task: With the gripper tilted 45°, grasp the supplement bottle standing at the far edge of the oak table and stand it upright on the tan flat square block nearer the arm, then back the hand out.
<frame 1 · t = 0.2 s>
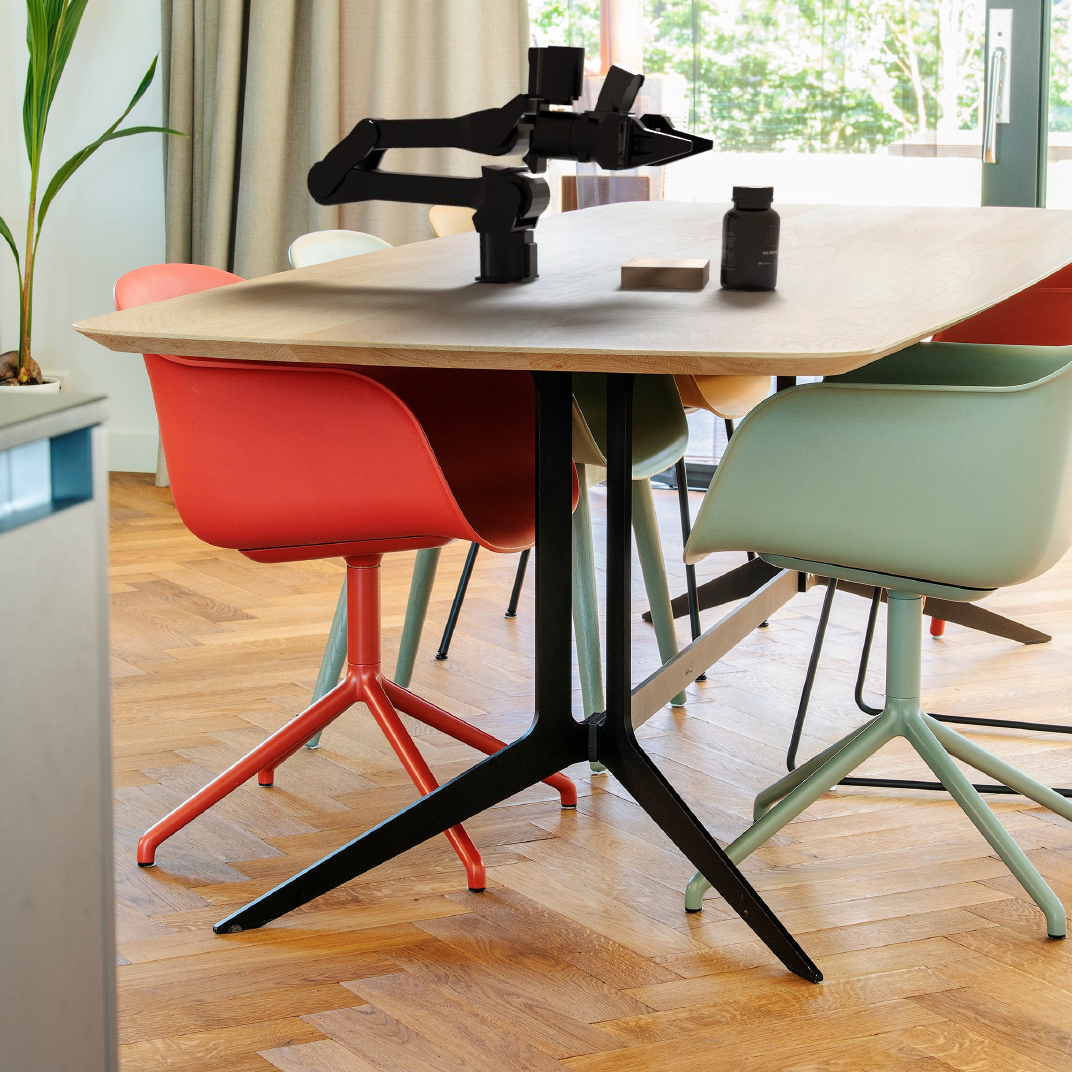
hand: (702, 145, 153), 17 cm above the table, tool horizontal, fingers open, 9 cm apart
supplement bottle: (748, 290, 157), on the table
tan flat square block: (665, 283, 163), on the table
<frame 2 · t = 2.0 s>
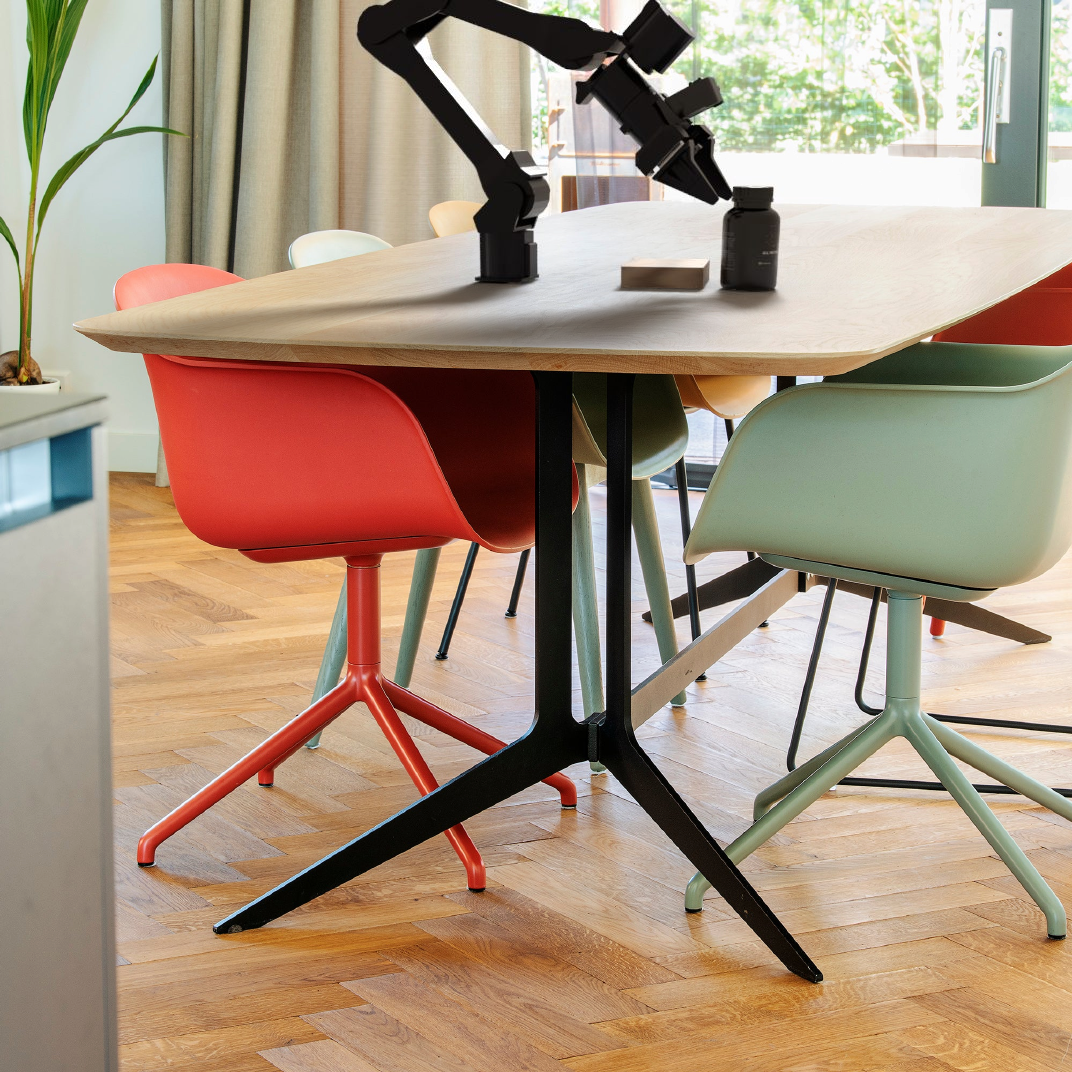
hand: (723, 200, 155), 10 cm above the table, tool tilted 45°, fingers open, 9 cm apart
nothing on the table moved.
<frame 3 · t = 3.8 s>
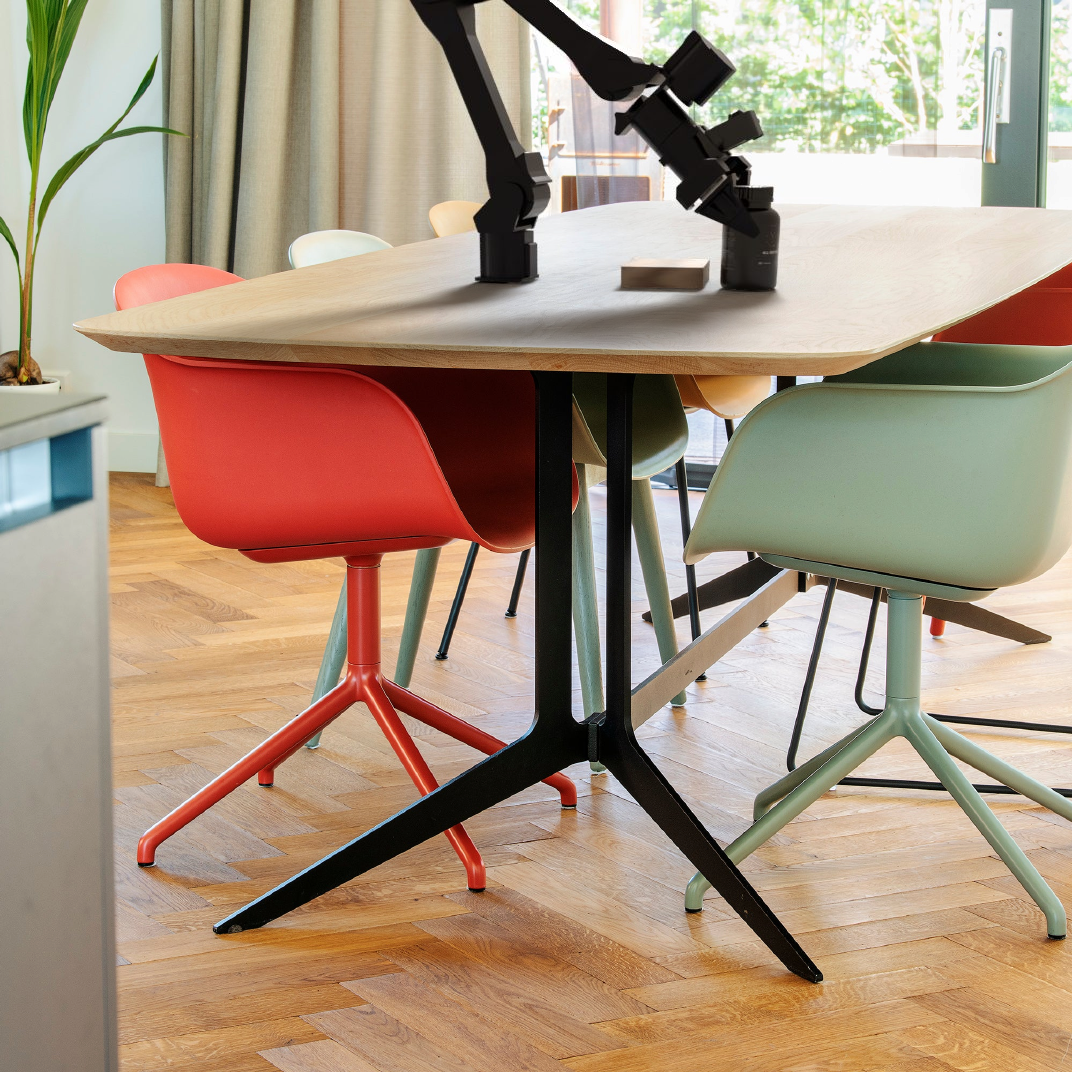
hand: (762, 232, 155), 7 cm above the table, tool tilted 45°, fingers closed on supplement bottle, 7 cm apart
supplement bottle: (748, 290, 157), on the table, touching gripper
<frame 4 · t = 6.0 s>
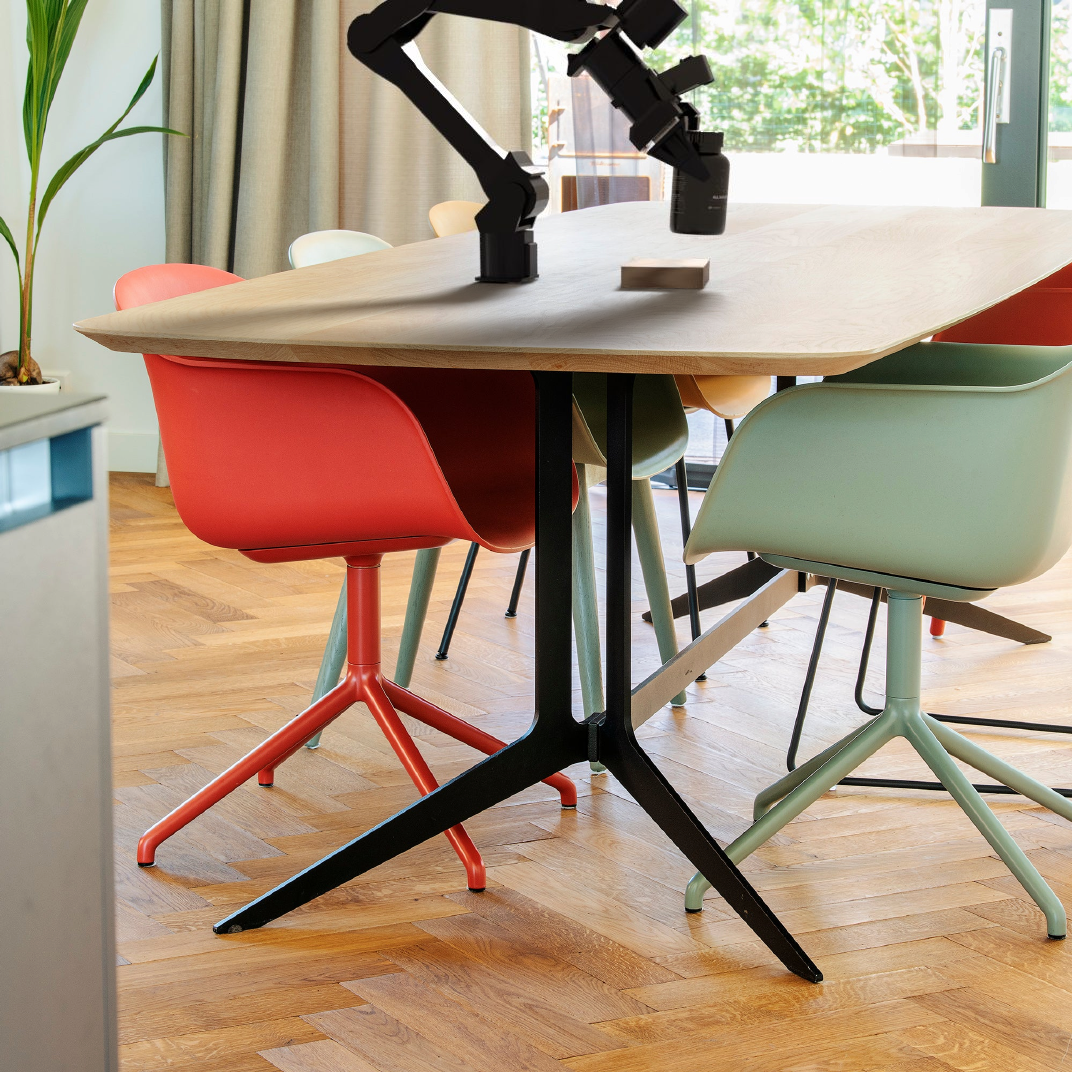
hand: (711, 178, 156), 13 cm above the table, tool tilted 45°, fingers closed on supplement bottle, 7 cm apart
supplement bottle: (697, 235, 159), point 6 cm above the table, touching gripper
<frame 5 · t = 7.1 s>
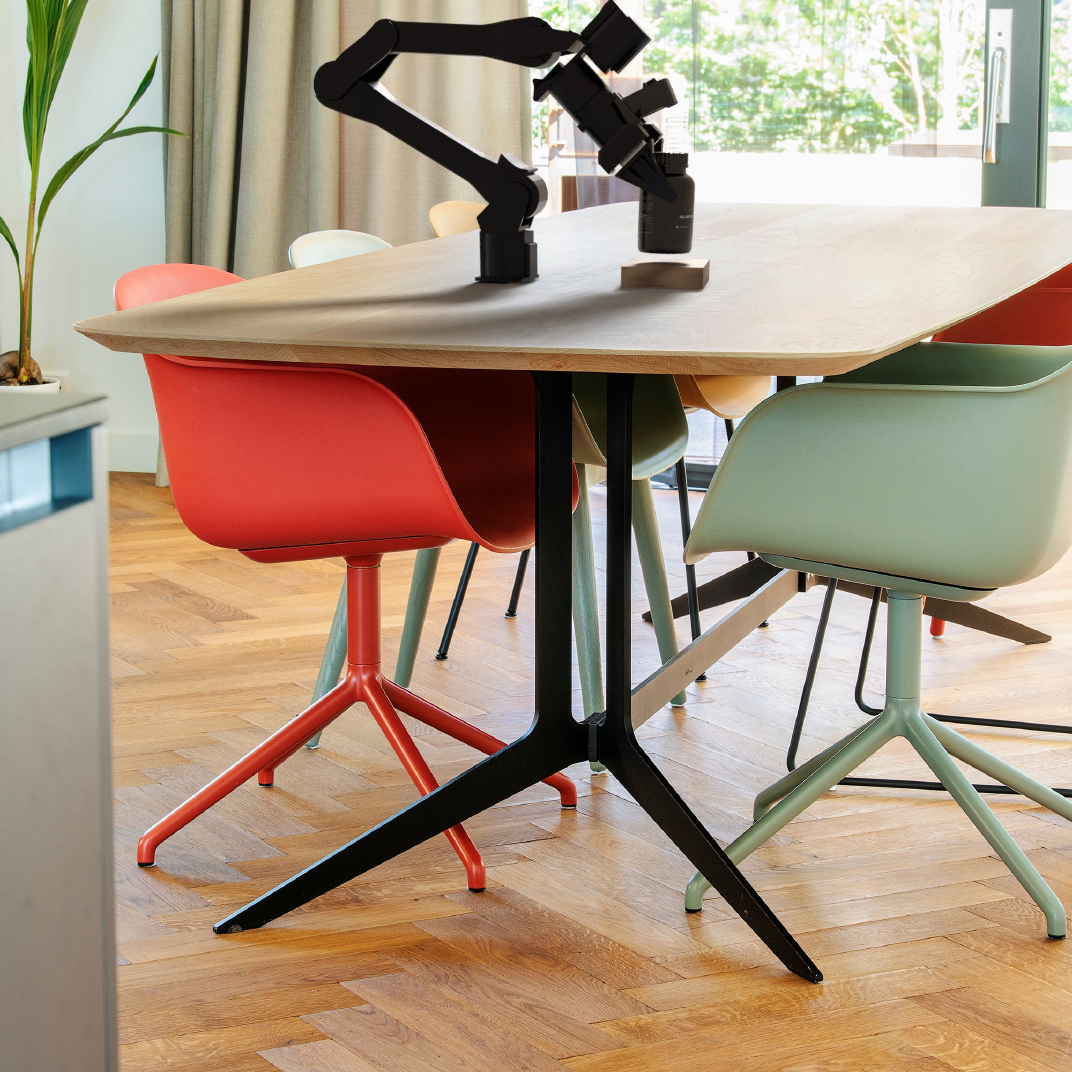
hand: (677, 198, 160), 10 cm above the table, tool tilted 45°, fingers closed on supplement bottle, 7 cm apart
supplement bottle: (664, 254, 162), point 4 cm above the table, touching gripper
when the fingers open (10 cm above the table, at t = 8.0 s): supplement bottle drops 1 cm, resting on tan flat square block.
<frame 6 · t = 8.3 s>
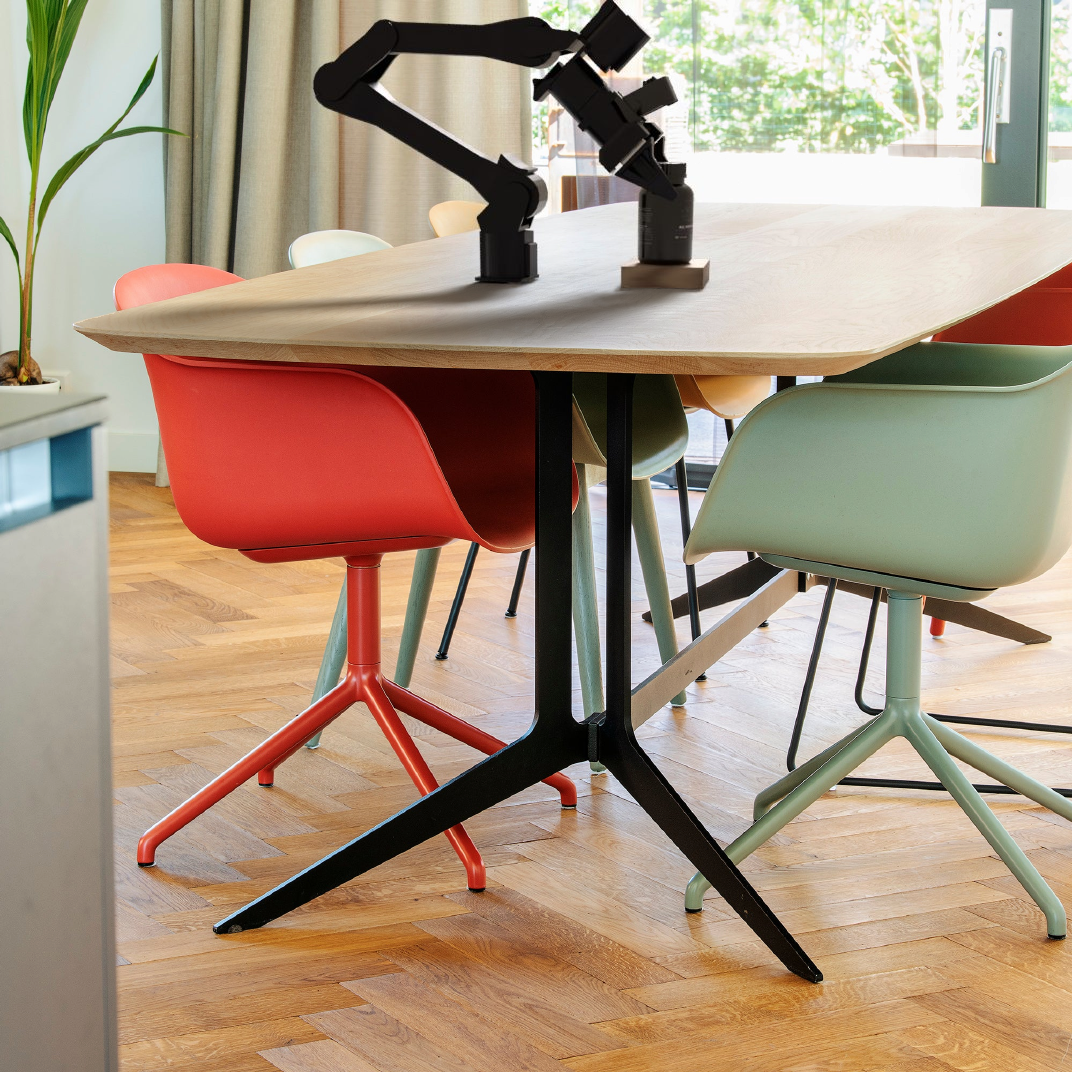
hand: (679, 196, 160), 11 cm above the table, tool tilted 45°, fingers open, 9 cm apart
supplement bottle: (664, 263, 162), point 2 cm above the table, touching tan flat square block
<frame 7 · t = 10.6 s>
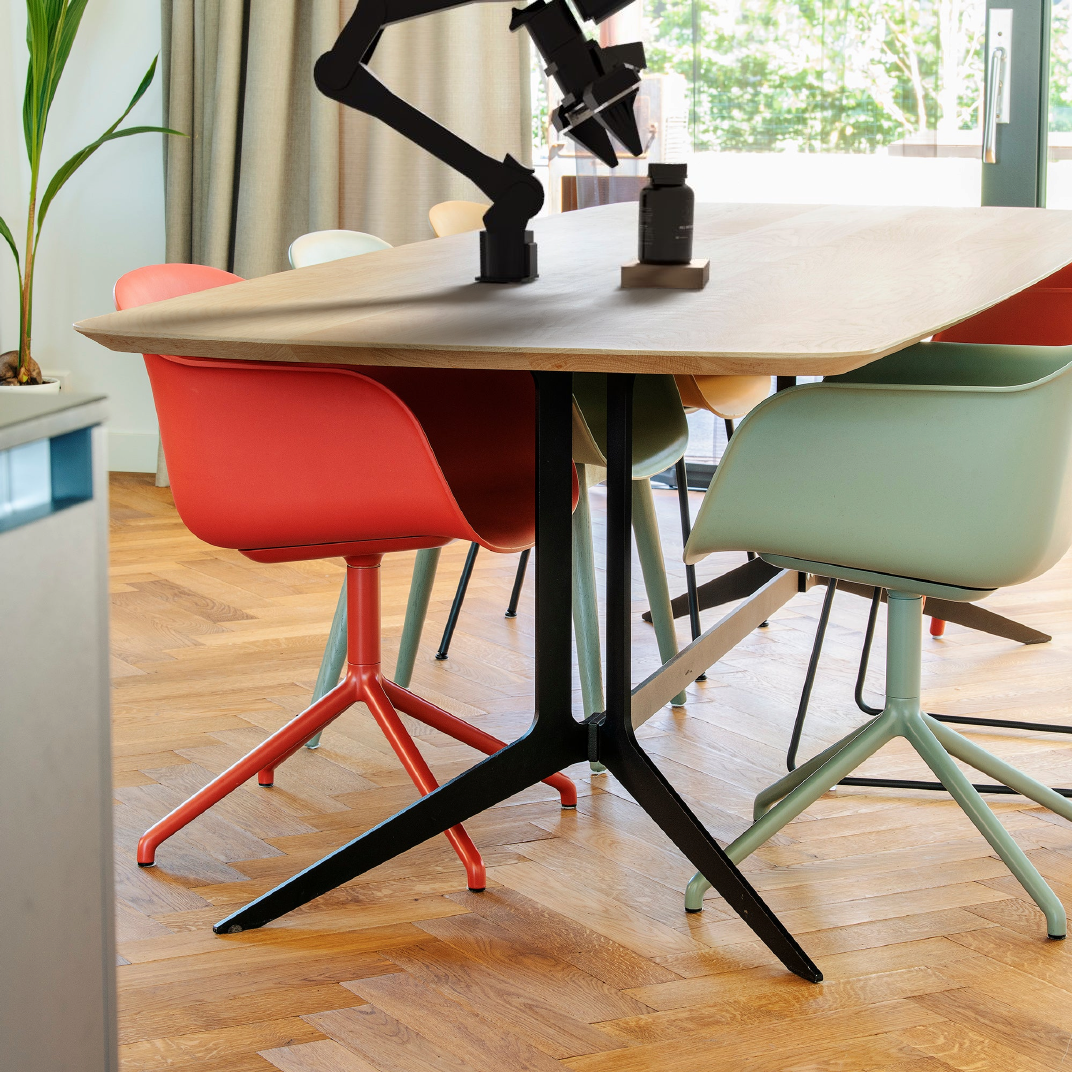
hand: (627, 161, 162), 15 cm above the table, tool tilted 30°, fingers open, 9 cm apart
nothing on the table moved.
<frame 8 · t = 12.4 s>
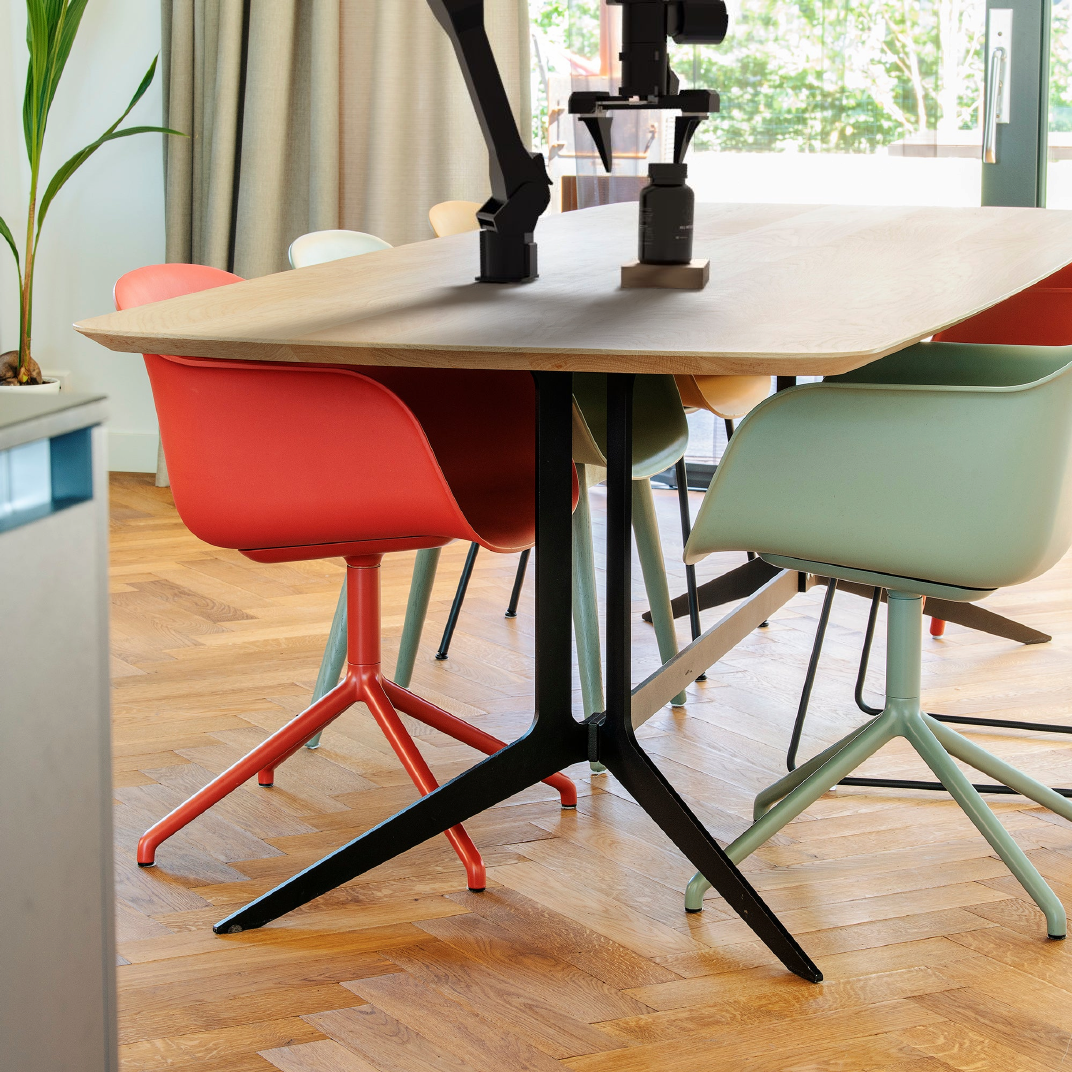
hand: (642, 172, 168), 13 cm above the table, tool pointing down, fingers open, 9 cm apart
nothing on the table moved.
at the end: supplement bottle 0.2 cm off-centre on the tan flat square block, point 2.3 cm above the tan flat square block's base; supplement bottle tilted 0°; the gripper is holding nothing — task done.
